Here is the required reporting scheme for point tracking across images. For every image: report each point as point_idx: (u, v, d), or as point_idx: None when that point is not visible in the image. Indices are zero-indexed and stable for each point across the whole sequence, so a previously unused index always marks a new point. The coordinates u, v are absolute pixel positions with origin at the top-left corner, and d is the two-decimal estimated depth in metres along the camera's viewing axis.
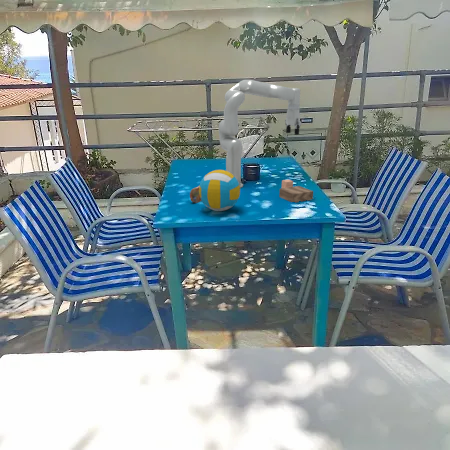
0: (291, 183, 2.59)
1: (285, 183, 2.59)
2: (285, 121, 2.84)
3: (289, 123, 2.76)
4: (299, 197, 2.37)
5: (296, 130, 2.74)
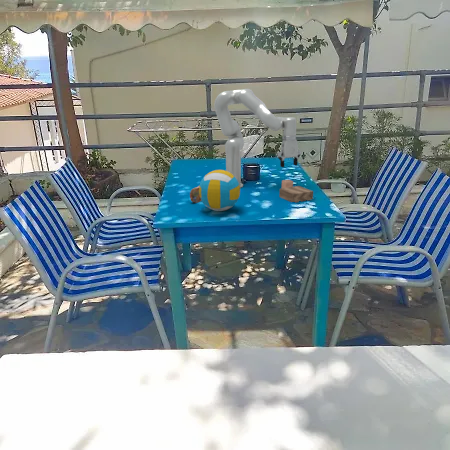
0: (291, 183, 2.59)
1: (285, 183, 2.59)
2: (278, 155, 2.51)
3: (291, 155, 2.52)
4: (299, 197, 2.37)
5: (297, 160, 2.58)
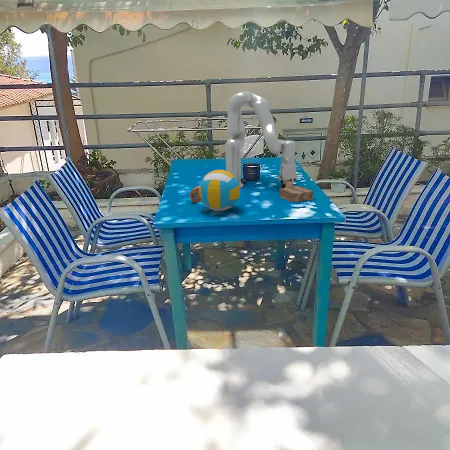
0: (291, 183, 2.59)
1: (285, 183, 2.58)
2: (279, 179, 2.57)
3: (290, 177, 2.57)
4: (299, 197, 2.37)
5: None
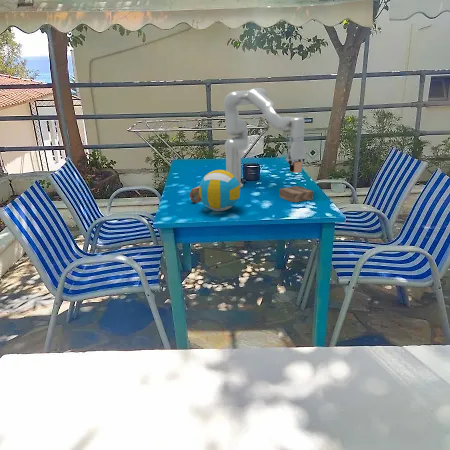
0: (300, 164, 2.40)
1: (294, 164, 2.39)
2: (287, 160, 2.37)
3: (299, 157, 2.38)
4: (299, 197, 2.37)
5: None
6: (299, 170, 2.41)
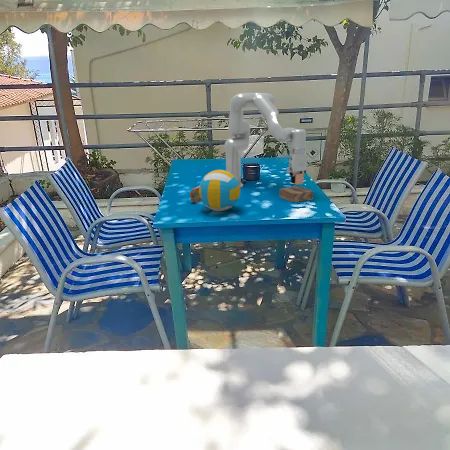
0: (301, 175, 2.38)
1: (295, 175, 2.38)
2: (288, 172, 2.36)
3: (300, 169, 2.36)
4: (299, 197, 2.37)
5: None
6: (300, 182, 2.39)
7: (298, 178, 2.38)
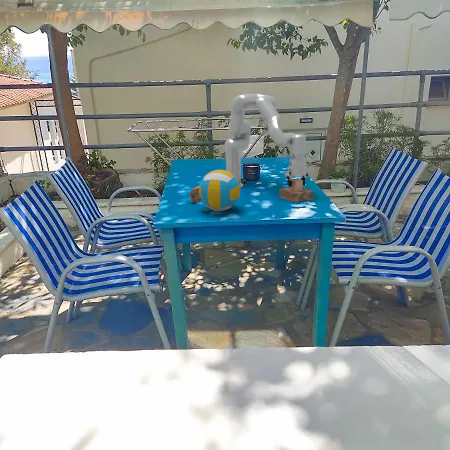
0: (301, 182, 2.40)
1: (294, 182, 2.39)
2: (286, 174, 2.36)
3: (300, 174, 2.37)
4: (299, 197, 2.37)
5: (305, 180, 2.43)
6: (300, 189, 2.41)
7: (297, 185, 2.39)
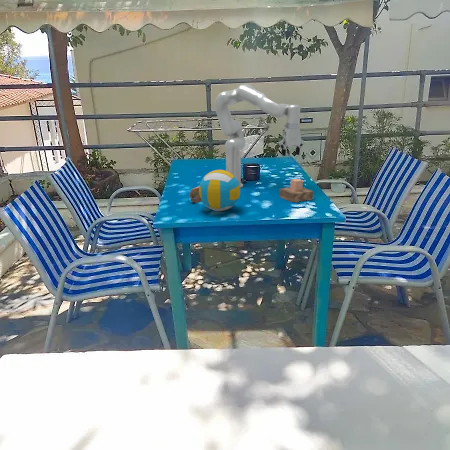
0: (301, 182, 2.40)
1: (294, 182, 2.39)
2: (280, 143, 2.44)
3: (294, 144, 2.46)
4: (299, 197, 2.37)
5: None
6: (300, 189, 2.41)
7: (297, 185, 2.39)
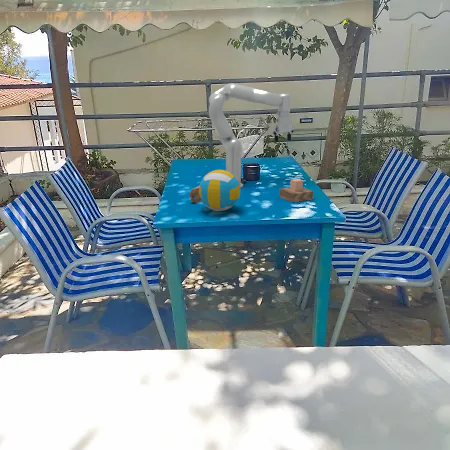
0: (301, 182, 2.40)
1: (294, 182, 2.39)
2: (273, 130, 2.62)
3: (285, 130, 2.64)
4: (299, 197, 2.37)
5: (290, 136, 2.69)
6: (300, 189, 2.41)
7: (297, 185, 2.39)
